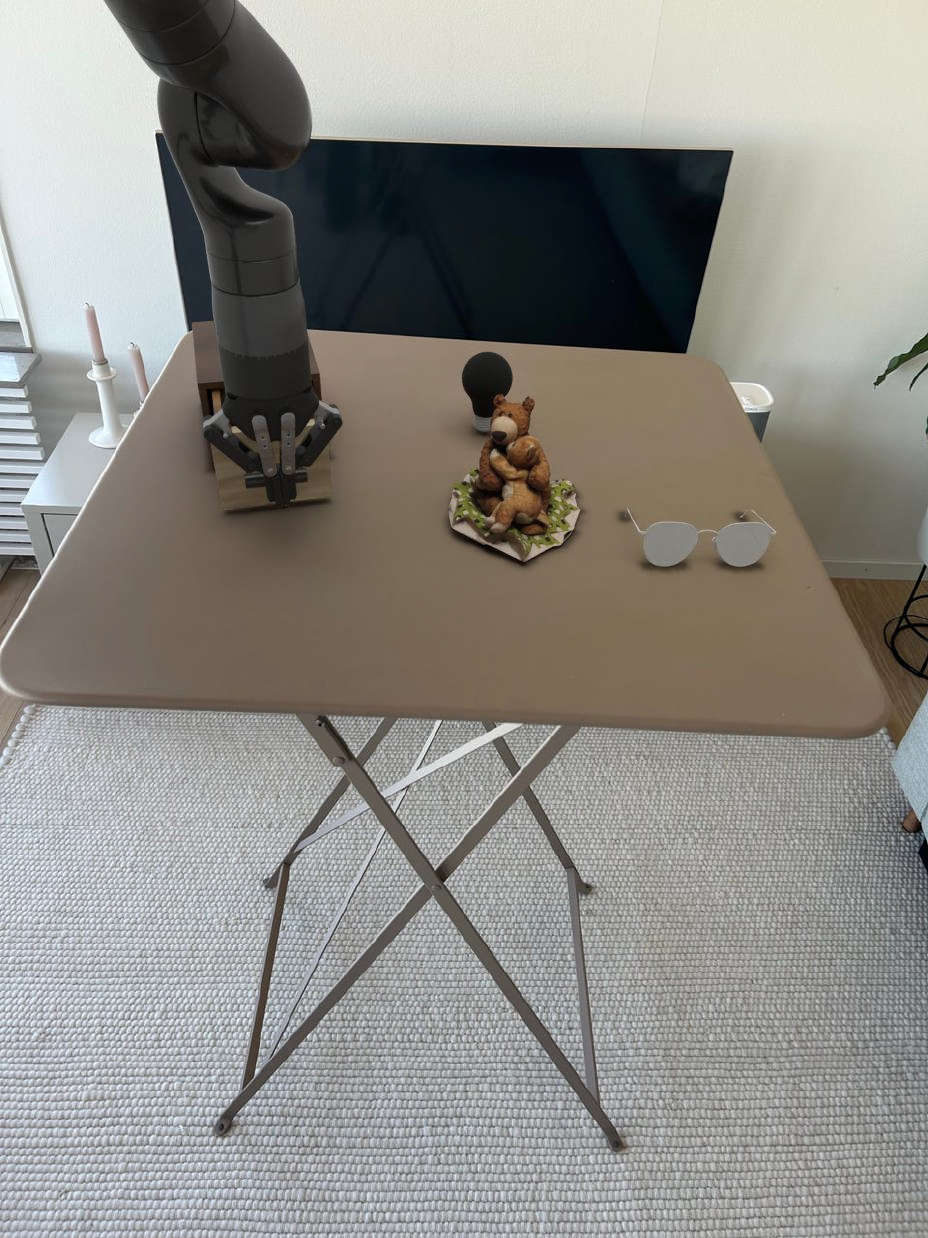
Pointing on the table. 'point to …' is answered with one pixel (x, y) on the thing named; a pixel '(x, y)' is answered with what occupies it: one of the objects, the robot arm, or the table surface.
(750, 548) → the sunglasses
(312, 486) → the drawer
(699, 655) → the table surface
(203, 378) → the cabinet
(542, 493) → the bear figurine
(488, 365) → the light bulb
